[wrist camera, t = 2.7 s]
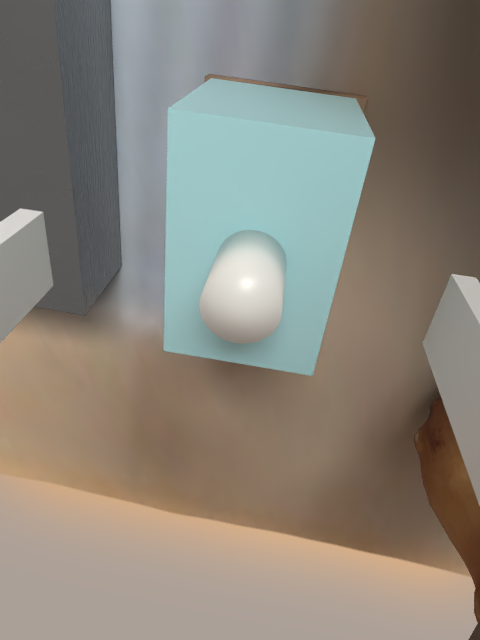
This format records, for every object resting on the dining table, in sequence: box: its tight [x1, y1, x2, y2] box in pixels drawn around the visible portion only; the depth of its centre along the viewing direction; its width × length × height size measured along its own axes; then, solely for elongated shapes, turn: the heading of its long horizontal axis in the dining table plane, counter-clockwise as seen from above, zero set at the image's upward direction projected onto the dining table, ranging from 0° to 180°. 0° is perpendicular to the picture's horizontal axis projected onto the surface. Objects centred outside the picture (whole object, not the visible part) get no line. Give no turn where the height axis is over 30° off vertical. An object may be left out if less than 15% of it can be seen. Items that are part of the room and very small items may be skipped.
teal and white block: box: [164, 78, 376, 376], centre depth 19 cm, size 6×9×14 cm, turn 174°
